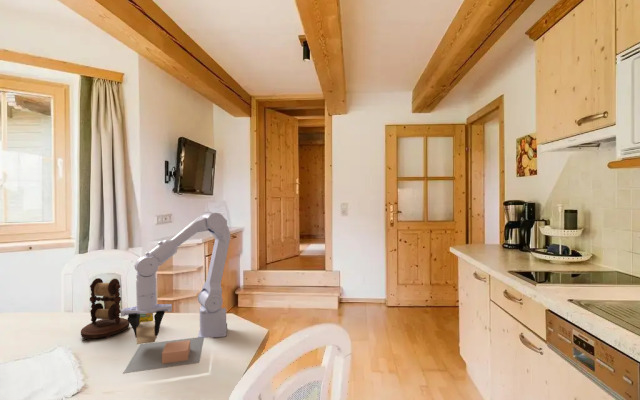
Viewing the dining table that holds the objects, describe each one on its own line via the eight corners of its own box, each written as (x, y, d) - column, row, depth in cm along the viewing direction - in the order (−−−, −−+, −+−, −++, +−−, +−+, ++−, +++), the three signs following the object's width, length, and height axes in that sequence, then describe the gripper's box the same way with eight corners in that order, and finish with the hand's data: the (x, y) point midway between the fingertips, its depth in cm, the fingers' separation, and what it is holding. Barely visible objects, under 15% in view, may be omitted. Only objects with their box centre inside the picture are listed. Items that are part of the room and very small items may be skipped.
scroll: (138, 325, 123) (137, 274, 123) (109, 343, 108) (108, 284, 108) (103, 324, 125) (102, 273, 124) (69, 341, 110) (68, 283, 110)
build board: (203, 338, 112) (203, 328, 111) (199, 364, 94) (199, 352, 94) (140, 345, 106) (140, 335, 106) (122, 375, 89) (122, 362, 89)
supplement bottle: (152, 324, 124) (152, 300, 124) (154, 329, 119) (153, 304, 119) (136, 327, 121) (136, 302, 121) (137, 332, 116) (137, 306, 116)
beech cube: (157, 335, 106) (157, 320, 106) (154, 342, 101) (153, 326, 101) (140, 337, 105) (140, 322, 105) (136, 344, 100) (136, 328, 100)
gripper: (116, 299, 97) (117, 343, 97) (168, 295, 101) (169, 337, 101) (124, 293, 104) (125, 334, 104) (172, 289, 108) (173, 328, 108)
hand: (147, 335), depth 103 cm, fingers closed on beech cube, 5 cm apart
